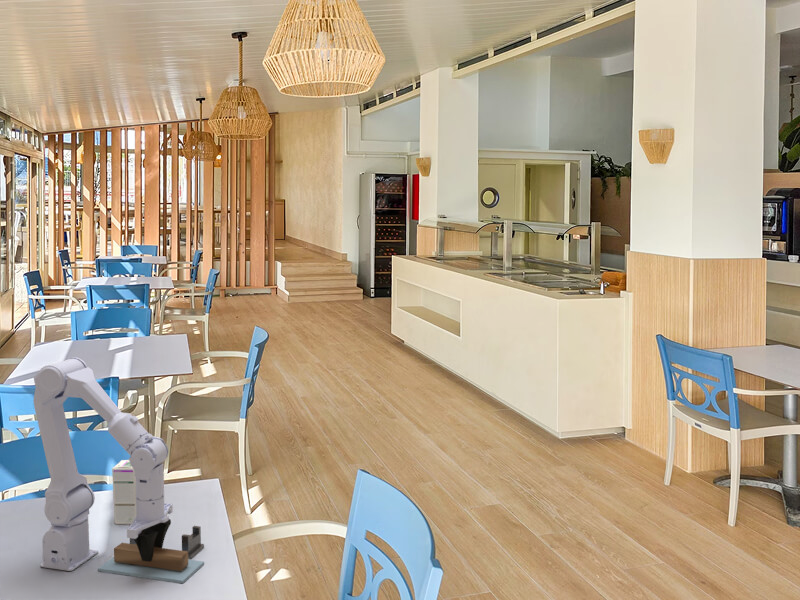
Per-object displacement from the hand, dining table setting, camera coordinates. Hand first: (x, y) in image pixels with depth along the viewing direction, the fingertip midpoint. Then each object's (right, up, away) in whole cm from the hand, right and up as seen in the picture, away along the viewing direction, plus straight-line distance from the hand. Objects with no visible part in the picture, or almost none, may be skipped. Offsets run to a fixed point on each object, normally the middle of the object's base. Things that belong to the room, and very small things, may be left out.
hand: (151, 556), depth 165 cm
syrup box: (-13, +1, +25) cm, 28 cm away
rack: (0, -1, +9) cm, 10 cm away
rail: (0, -1, 0) cm, 1 cm away
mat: (0, -2, 0) cm, 2 cm away
